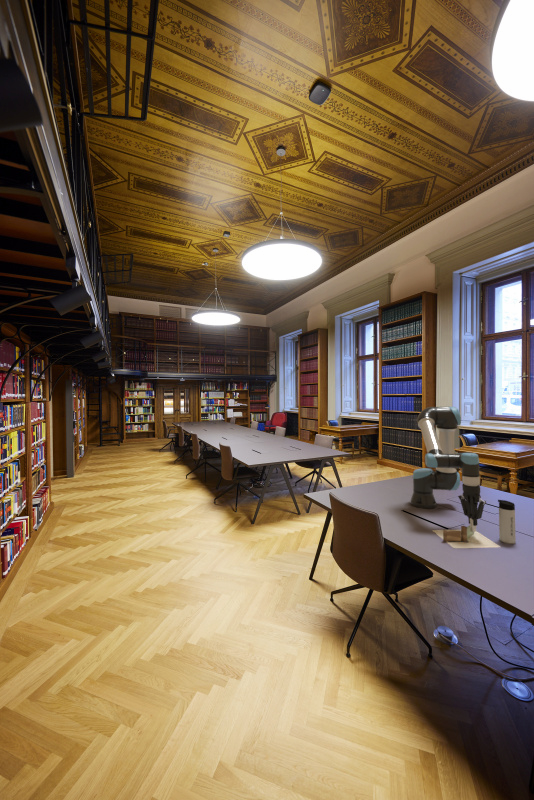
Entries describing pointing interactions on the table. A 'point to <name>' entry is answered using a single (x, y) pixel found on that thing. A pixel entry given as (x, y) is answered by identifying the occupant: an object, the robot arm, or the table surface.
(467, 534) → the hinged rail
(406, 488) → the table surface
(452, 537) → the fence fixed
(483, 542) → the card
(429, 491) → the robot arm
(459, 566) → the table surface
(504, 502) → the travel mug
